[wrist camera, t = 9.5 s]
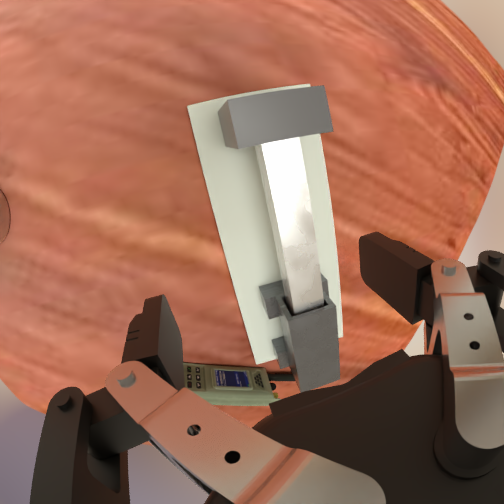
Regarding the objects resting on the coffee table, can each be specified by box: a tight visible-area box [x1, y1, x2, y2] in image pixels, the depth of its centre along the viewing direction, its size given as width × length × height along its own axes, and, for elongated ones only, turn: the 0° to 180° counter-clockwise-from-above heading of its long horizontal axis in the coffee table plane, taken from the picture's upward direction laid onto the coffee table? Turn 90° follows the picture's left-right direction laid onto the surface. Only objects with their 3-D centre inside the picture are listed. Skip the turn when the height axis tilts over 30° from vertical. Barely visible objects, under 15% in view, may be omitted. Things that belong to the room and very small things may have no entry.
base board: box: [187, 84, 343, 364], centre depth 37 cm, size 14×36×2 cm, turn 13°
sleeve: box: [259, 274, 340, 392], centre depth 37 cm, size 8×12×9 cm, turn 13°
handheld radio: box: [183, 362, 295, 406], centre depth 41 cm, size 7×3×25 cm
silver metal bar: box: [255, 137, 324, 317], centre depth 30 cm, size 3×24×3 cm, turn 13°
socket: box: [218, 85, 333, 149], centre depth 26 cm, size 8×4×10 cm, turn 103°
